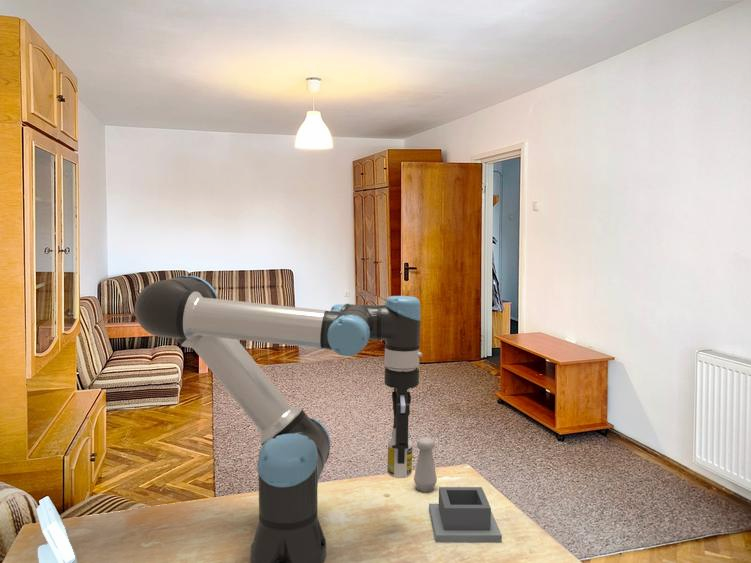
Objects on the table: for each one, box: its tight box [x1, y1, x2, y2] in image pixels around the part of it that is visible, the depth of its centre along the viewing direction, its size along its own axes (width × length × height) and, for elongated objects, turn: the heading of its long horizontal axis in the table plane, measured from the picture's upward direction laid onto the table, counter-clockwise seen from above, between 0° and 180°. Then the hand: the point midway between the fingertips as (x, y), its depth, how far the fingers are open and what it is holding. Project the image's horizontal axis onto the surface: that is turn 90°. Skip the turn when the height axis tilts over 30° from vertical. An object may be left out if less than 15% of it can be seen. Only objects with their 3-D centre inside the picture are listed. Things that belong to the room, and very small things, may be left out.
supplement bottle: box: [387, 428, 413, 479], centre depth 125 cm, size 5×5×10 cm
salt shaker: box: [413, 437, 438, 493], centre depth 144 cm, size 6×6×13 cm
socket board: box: [428, 486, 503, 543], centre depth 127 cm, size 14×14×6 cm
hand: (399, 470), depth 125 cm, fingers closed on supplement bottle, 5 cm apart
